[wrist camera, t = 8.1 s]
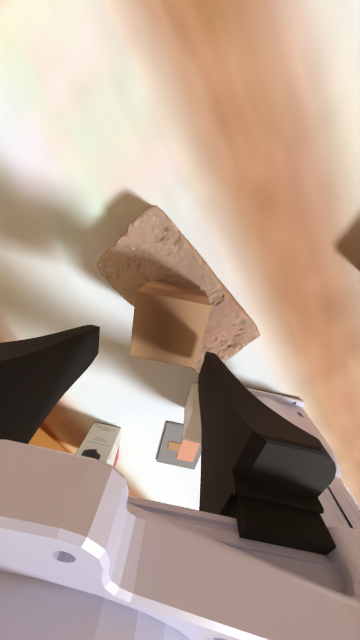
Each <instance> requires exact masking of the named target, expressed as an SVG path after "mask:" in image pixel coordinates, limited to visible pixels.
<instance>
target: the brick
mask: <svg viewBox="0 0 360 640" xmlns="http://www.w3.org/2000/svg"><path fill="white" fill-rule="evenodd" d="M97 267H98V268H99V270H100V272H101V274H102V275H103V276H104V277H105V278H106V279H107V280H108V281H109V282H110V284H111V285H112V286H113V287H114V288H115V289H116V290H117V291H118V292H119V293H120V295H121V296H122V297H123V298H124V299H125V300H126V301H127V302H129V303H130V304H131V305H133V306H134V307H135V299H136V291H137V290H138V289H140V288H141V287H142V286H144V285H145V284H147V283H148V282H150V281H151V280H155V281H160V282H165V283H170V284H175V285H180V286H185V287H189V288H194V289H199V290H204V291H206V294H207V296H208V299H209V301H210V304H211V309H210V313H209V317H208V321H207V324H206V328H205V332H204V335H203V339H202V343H201V347H200V350H199V354H198V358H197V361H196V365H195V368H193V369H194V371H195V372H196V373H197V374H199V373H200V370H201V367H202V364H203V361H204V358H205V355H206V351H207V352H211V353H215V354H216V355H217V356H218V357H219V358H220V359H221V361H222V362H225V361H226V360H228V359H229V358H231V357H233V356H234V355H235V354H236V353H238V352H239V351H240V350H241V349H242V348H243V347H245V346H246V345H248V344H249V343H250V342H252V341H253V340H255V339H256V338H258V337H259V336H260V333H259V331H258V328H257V326H256V324H255V323H254V321H253V320H252V319H251V318H250V317H249V316H248V314H247V313H246V312H245V311H244V309H243V308H242V307H241V306H240V305H239V303H238V302H237V301H236V300H235V298H234V297H233V296H232V294H231V293H230V292H229V291H228V290H227V288H226V287H225V286H224V285H223V283H222V282H221V281H220V280H219V279H218V278H217V276H216V275H215V273H214V272H213V271H212V269H211V268H210V267H209V266H208V264H207V263H206V262H205V261H204V259H203V258H202V257H201V255H200V254H199V253H198V252H197V251H196V249H195V248H194V247H193V246H192V245H191V244H190V242H189V241H188V240H187V239H186V238H185V237H184V235H183V234H182V233H181V232H180V230H179V229H178V228H177V227H176V225H175V224H174V223H173V222H172V221H171V220H170V218H169V217H168V216H167V215H166V214H165V213H164V211H162V210H161V209H160V208H159V207H158V206H157V205H153V206H149V207H148V208H147V209H146V210H145V211H144V212H143V213H142V214H141V215H140V216H138V217H137V218H136V220H135V221H133V222H132V223H131V224H130V225H129V226H128V229H127V231H126V232H125V233H124V234H123V236H122V237H121V238H120V239H119V240H118V241H117V242H116V243H115V244H114V245H113V246H112V247H111V248H109V249H108V250H107V251H106V252H105V254H104V255H103V256H102V257H101V258H100V259H99V261H98V264H97Z"/></svg>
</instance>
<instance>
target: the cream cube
mask: <svg viewBox="0 0 360 640" xmlns="http://www.w3.org/2000/svg"><path fill="white" fill-rule="evenodd" d="M183 440H187V441H191V442H196V443H201V417H200V406H199V396H198V384H195V383H192V386H191V389H190V392H189V395H188V398H187V402H186V405H185V408H184V430H183Z"/></svg>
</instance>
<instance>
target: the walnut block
mask: <svg viewBox="0 0 360 640" xmlns="http://www.w3.org/2000/svg"><path fill="white" fill-rule="evenodd" d="M210 309H211V304H210V301H209V299H208V296H207V294H206V291H204V290H199V289H194V288H189V287H185V286H180V285H175V284H170V283H165V282H160V281H155V280H151V281H150V282H148V283H147V284H145V285H144V286H142V287H141V288H140V289H138V290H137V291H136V299H135V309H134V318H133V328H132V338H131V348H130V356H135V357H141V358H146V359H151V360H156V361H161V362H166V363H172V364H177V365H182V366H187V367H192V368H195V365H196V361H197V358H198V354H199V350H200V347H201V343H202V339H203V335H204V332H205V328H206V324H207V321H208V317H209V313H210Z"/></svg>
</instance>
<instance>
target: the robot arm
mask: <svg viewBox="0 0 360 640" xmlns="http://www.w3.org/2000/svg"><path fill="white" fill-rule="evenodd" d="M99 331H100V327H98V326H94V325H86V326H82V327H78V328H74V329H70V330H66V331H62V332H59V333H54V334H50V335H46V336H41V337H37V338H31V339H26V340H19V341H13V342H4V343H0V640H360V505H359V503H358V502H357V500H356V499H355V498H354V496H353V495H352V493H351V492H350V491H349V489H348V488H347V486H346V485H345V484H344V482H343V481H342V480H341V474H340V468H339V464H338V461H337V459H336V456H335V454H334V452H333V450H332V449H331V447H330V446H329V444H328V443H327V442H326V440H325V439H324V437H323V436H322V435H321V433H320V432H319V430H318V429H317V428H316V426H315V425H314V424H313V422H312V421H311V419H310V418H309V417H308V415H307V414H306V412H305V411H304V410H303V407H304V405H305V403H304V401H303V400H300V399H295V398H291V397H286V396H282V395H277V394H273V393H269V392H264V391H260V390H255V389H251V388H246V387H244V386H243V385H242V384H241V383H240V381H239V380H238V379H237V378H236V377H235V376H234V375H233V374H232V373H231V372H230V370H229V369H228V368H227V367H226V366H225V364H224V363H223V362H222V361H221V359H220V358H219V357H218V356H217V355H216V354H215V353H211V352H207V351H206V355H205V358H204V361H203V364H202V367H201V370H200V373H199V376H198V396H199V406H200V417H201V484H200V507H199V511H198V510H194V509H189V508H184V507H179V506H175V505H170V504H165V503H160V502H155V501H151V500H146V499H141V498H136V497H132V496H128V493H129V491H128V487H127V483H126V480H125V478H124V476H123V475H122V474H121V473H120V472H119V471H118V470H117V469H116V468H114V467H113V466H112V465H110V464H107V463H105V462H102V461H100V460H97V459H95V458H90V457H85V456H80V455H76V454H71V453H66V452H62V451H57V450H52V449H48V448H43V447H38V446H34V445H29V444H28V443H29V441H30V440H31V438H32V437H33V435H34V434H35V432H36V431H37V430H38V428H39V427H40V425H41V424H42V423H43V421H44V420H45V418H46V417H47V416H48V414H49V413H50V411H51V410H52V409H53V407H54V406H55V405H56V403H57V402H58V401H59V399H60V398H61V397H62V396H63V395H64V393H65V392H66V391H67V390H68V389H69V388H70V387H71V386H72V385H73V384H74V382H75V381H76V380H77V379H78V378H79V377H80V376H81V375H82V374H83V373H84V372H85V370H86V369H87V368H88V367H89V366H90V365H91V363H92V362H93V360H94V359H95V357H96V356H97V354H98V348H99Z"/></svg>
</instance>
